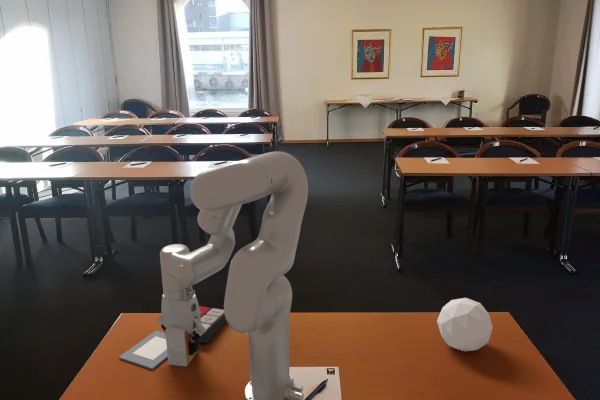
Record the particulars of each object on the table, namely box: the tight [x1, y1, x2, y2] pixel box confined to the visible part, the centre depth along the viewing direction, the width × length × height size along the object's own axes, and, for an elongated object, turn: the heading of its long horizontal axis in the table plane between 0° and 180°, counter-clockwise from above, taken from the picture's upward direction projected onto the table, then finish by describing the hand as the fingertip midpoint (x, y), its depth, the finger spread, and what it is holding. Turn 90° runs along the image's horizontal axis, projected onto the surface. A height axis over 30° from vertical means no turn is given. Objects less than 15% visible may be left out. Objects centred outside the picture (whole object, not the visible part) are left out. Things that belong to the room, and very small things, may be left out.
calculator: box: [197, 305, 227, 344], centre depth 145 cm, size 11×4×15 cm
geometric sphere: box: [436, 297, 494, 352], centre depth 134 cm, size 14×15×15 cm
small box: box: [164, 327, 199, 367], centre depth 131 cm, size 8×6×10 cm
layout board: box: [118, 330, 168, 371], centre depth 136 cm, size 12×15×1 cm
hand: (183, 349), depth 131 cm, fingers closed on small box, 6 cm apart
